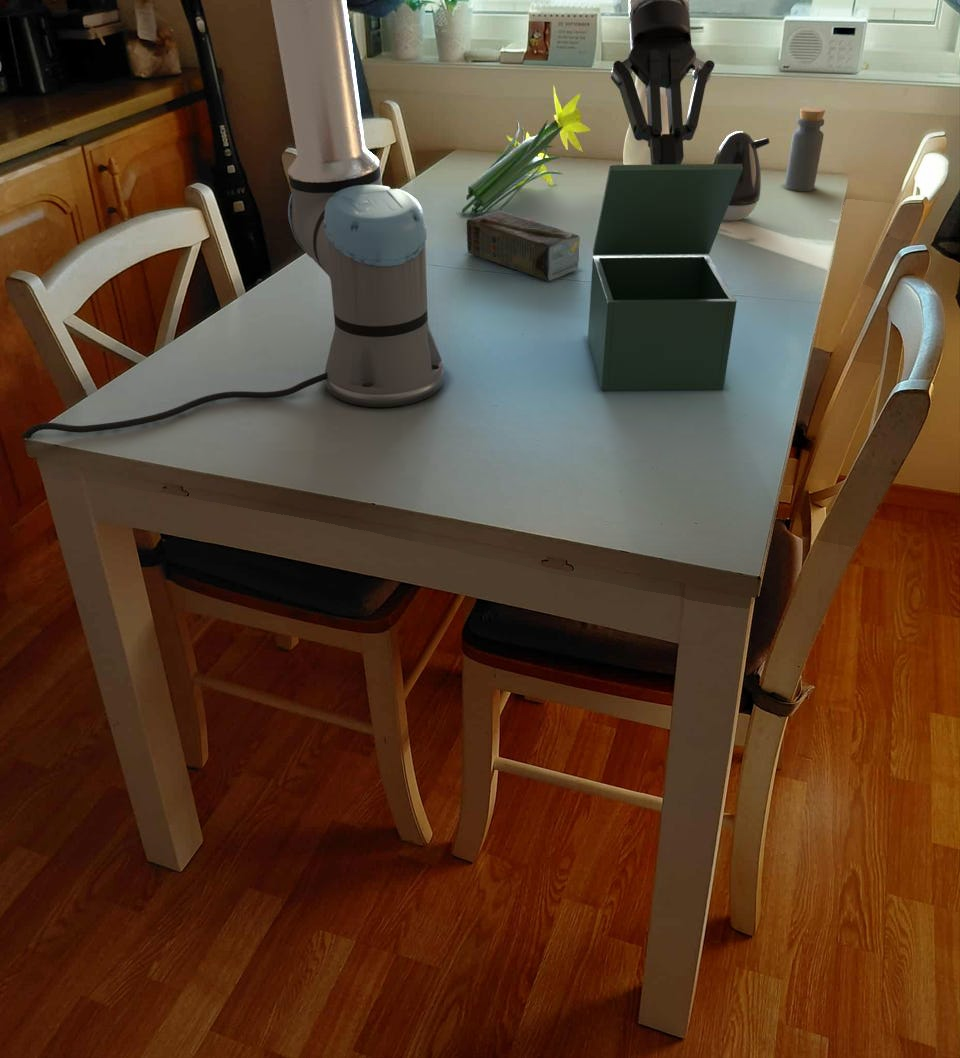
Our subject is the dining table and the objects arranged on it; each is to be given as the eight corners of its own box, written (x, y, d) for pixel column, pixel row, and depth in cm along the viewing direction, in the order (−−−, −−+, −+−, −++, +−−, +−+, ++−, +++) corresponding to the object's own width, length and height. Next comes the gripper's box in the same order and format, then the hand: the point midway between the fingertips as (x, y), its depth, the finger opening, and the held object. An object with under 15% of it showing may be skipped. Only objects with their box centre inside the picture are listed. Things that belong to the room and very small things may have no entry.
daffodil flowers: (431, 211, 191) (527, 127, 208) (489, 258, 191) (580, 171, 208) (454, 147, 176) (556, 63, 193) (517, 198, 176) (613, 110, 193)
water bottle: (676, 180, 205) (692, 32, 189) (659, 191, 199) (674, 38, 183) (631, 173, 209) (643, 28, 193) (613, 183, 203) (624, 34, 187)
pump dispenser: (756, 227, 179) (770, 140, 170) (699, 222, 181) (709, 136, 173) (758, 211, 187) (771, 127, 178) (703, 207, 189) (713, 124, 181)
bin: (723, 389, 125) (736, 301, 118) (601, 390, 124) (607, 302, 118) (697, 337, 138) (708, 255, 132) (587, 338, 138) (592, 256, 131)
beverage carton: (547, 283, 156) (548, 242, 152) (464, 255, 167) (463, 216, 163) (580, 270, 160) (582, 230, 157) (497, 244, 172) (497, 206, 168)
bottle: (778, 185, 202) (791, 107, 193) (803, 182, 203) (817, 105, 195) (794, 192, 197) (808, 113, 189) (819, 190, 199) (834, 111, 190)
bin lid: (743, 169, 115) (742, 163, 115) (610, 170, 114) (609, 164, 115) (709, 254, 131) (708, 249, 131) (593, 255, 131) (592, 250, 131)
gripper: (703, 37, 128) (714, 203, 124) (604, 38, 128) (611, 204, 123) (717, -4, 120) (729, 171, 116) (612, -4, 120) (620, 172, 116)
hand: (668, 188), depth 120 cm, fingers closed
